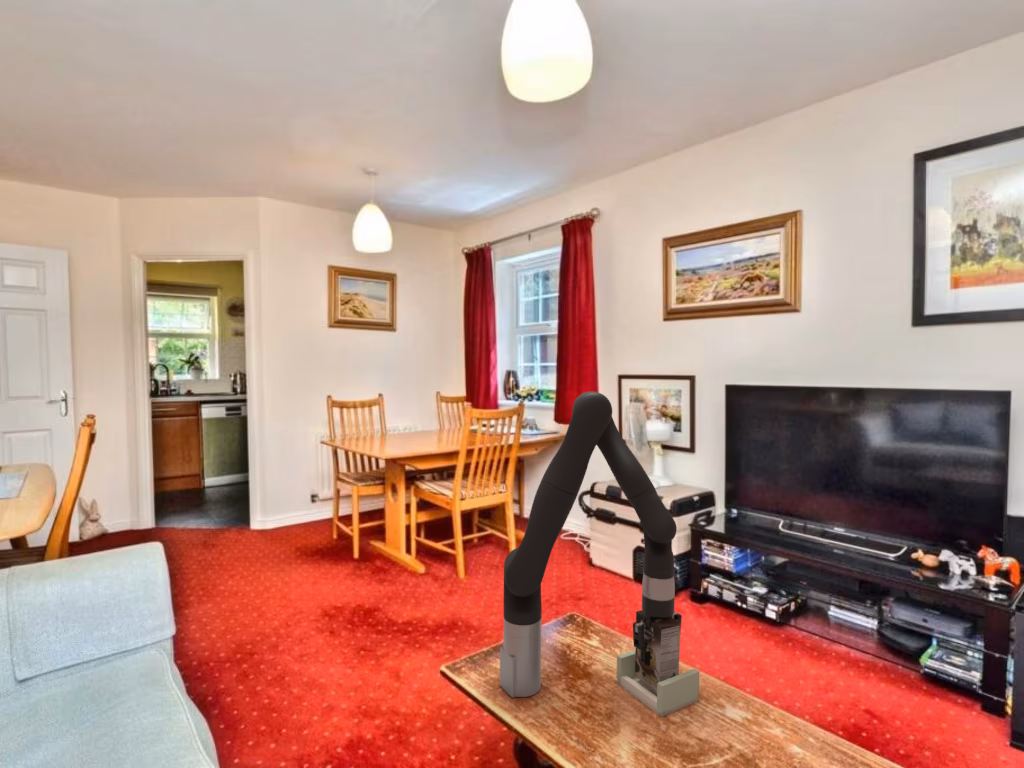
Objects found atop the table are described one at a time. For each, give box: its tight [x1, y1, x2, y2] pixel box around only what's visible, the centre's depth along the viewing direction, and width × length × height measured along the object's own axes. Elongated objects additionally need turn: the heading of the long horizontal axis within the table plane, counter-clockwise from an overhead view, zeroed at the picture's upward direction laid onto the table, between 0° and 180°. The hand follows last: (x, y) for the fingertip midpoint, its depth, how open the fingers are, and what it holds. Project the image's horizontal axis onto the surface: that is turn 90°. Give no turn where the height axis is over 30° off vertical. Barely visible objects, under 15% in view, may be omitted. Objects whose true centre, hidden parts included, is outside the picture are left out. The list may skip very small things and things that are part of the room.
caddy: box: [616, 648, 700, 718], centre depth 133 cm, size 12×15×7 cm
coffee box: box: [635, 609, 681, 693], centre depth 133 cm, size 9×6×16 cm
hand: (656, 660), depth 133 cm, fingers closed on coffee box, 6 cm apart
